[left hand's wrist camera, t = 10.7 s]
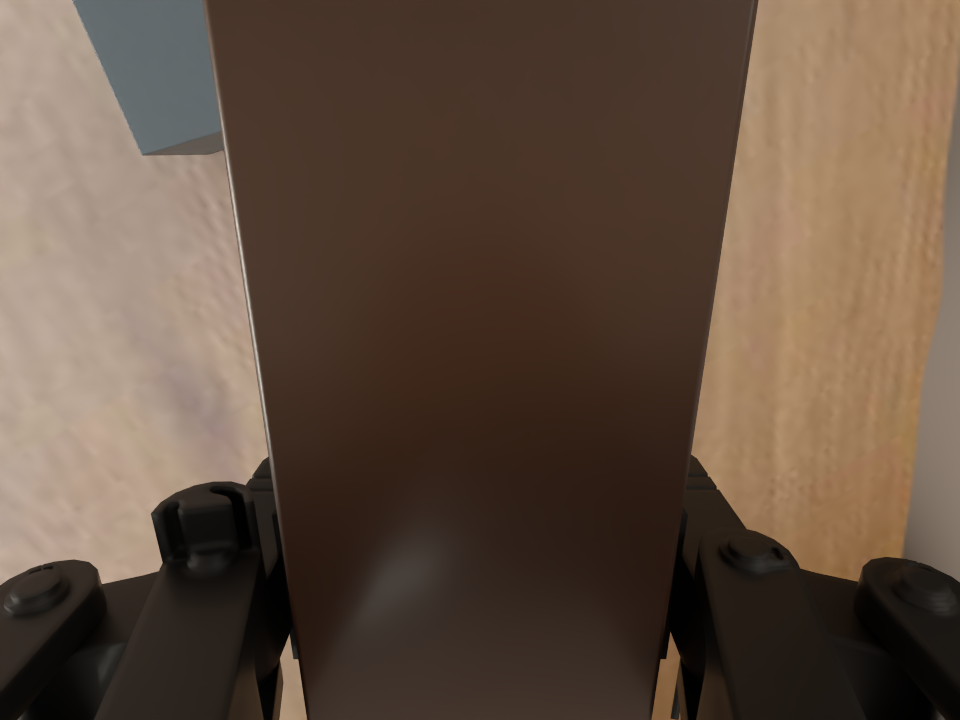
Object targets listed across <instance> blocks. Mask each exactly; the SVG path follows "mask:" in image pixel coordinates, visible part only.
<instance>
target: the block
mask: <svg viewBox="0 0 960 720" xmlns="http://www.w3.org/2000/svg"><path fill="white" fill-rule="evenodd" d="M72 1H73V3H74V6H75V8H76V10H77V12H78V15H79V17H80V19H81V21H82V23H83V26H84V28H85V30H86V32H87V35H88V37H89V39H90V41H91V43H92V46H93V48H94V50H95V52H96V55H97V57H98V59H99V61H100V64H101V66H102V68H103V70H104V72H105V75H106V77H107V79H108V81H109V84H110V86H111V88H112V90H113V92H114V95H115V97H116V99H117V101H118V104H119V106H120V108H121V110H122V113H123V115H124V117H125V119H126V121H127V124H128V126H129V128H130V130H131V133H132V135H133V137H134V139H135V141H136V144H137V146H138V148H139V150H140V153H141V154H142V155H207V154H211V153H214V152H217V151H221V150H224V147H223V140H222V133H221V126H220V119H219V112H218V106H217V99H216V92H215V85H214V78H213V71H212V65H211V58H210V51H209V44H208V37H207V30H206V24H205V17H204V10H203V3H202V0H72Z"/></svg>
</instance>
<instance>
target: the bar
mask: <svg viewBox="0 0 960 720" xmlns="http://www.w3.org/2000/svg"><path fill="white" fill-rule="evenodd" d="M202 3H203V10H204V17H205V24H206V30H207V37H208V44H209V51H210V58H211V65H212V71H213V78H214V85H215V92H216V99H217V106H218V112H219V119H220V126H221V133H222V140H223V147H224V153H225V160H226V167H227V174H228V181H229V188H230V195H231V201H232V208H233V215H234V222H235V229H236V236H237V242H238V249H239V256H240V263H241V270H242V277H243V283H244V290H245V297H246V304H247V311H248V318H249V324H250V331H251V338H252V345H253V352H254V359H255V365H256V372H257V379H258V386H259V393H260V400H261V407H262V413H263V420H264V427H265V434H266V441H267V448H268V454H269V461H270V468H271V475H272V482H273V489H274V495H275V502H276V509H277V516H278V523H279V530H280V536H281V543H282V550H283V557H284V564H285V571H286V578H287V584H288V591H289V598H290V605H291V612H292V619H293V625H294V632H295V639H296V646H297V653H298V660H299V666H300V673H301V680H302V687H303V694H304V701H305V707H306V714H307V720H651V719H652V712H653V706H654V699H655V692H656V685H657V679H658V672H659V665H660V659H661V652H662V645H663V638H664V632H665V625H666V618H667V611H668V605H669V598H670V591H671V585H672V578H673V571H674V564H675V558H676V551H677V544H678V537H679V531H680V524H681V517H682V511H683V504H684V497H685V490H686V484H687V477H688V470H689V463H690V457H691V450H692V443H693V437H694V430H695V423H696V416H697V410H698V403H699V396H700V389H701V383H702V376H703V369H704V363H705V356H706V349H707V342H708V336H709V329H710V322H711V315H712V309H713V302H714V295H715V289H716V282H717V275H718V268H719V262H720V255H721V248H722V241H723V235H724V228H725V221H726V215H727V208H728V201H729V194H730V188H731V181H732V174H733V167H734V161H735V154H736V147H737V141H738V134H739V127H740V120H741V114H742V107H743V100H744V93H745V87H746V80H747V73H748V67H749V60H750V53H751V46H752V40H753V33H754V26H755V19H756V13H757V6H758V0H202Z"/></svg>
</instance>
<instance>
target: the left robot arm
mask: <svg viewBox="0 0 960 720" xmlns="http://www.w3.org/2000/svg"><path fill="white" fill-rule="evenodd" d="M716 487H717V486H716V485H715V484H714V482H713V481H712V479H711V478H710V477H708V474H707V472H706V471H705V469H704V468H703V467H702V465H701V464H700V462H699V461H698V459H697V458H695V457H694V456H692V455H691V457H690V463H689V470H688V477H687V484H686V490H685V497H684V504H683V511H682V517H681V524H680V531H679V537H678V544H677V551H676V558H675V564H674V571H673V578H672V585H671V591H670V598H669V605H668V611H667V618H666V625H665V632H664V638H663V645H662V652H661V659H666V656H667V650H668V643H669V637H670V632H671V634H672V637H673V639H674V642H675V644H676V647H677V649H678V652H679V654H680V663H679V669H678V675H677V681H676V687H675V694H674V700H673V706H672V713H671V719H676V720H678V719H679V713H680V715H681V720H960V582H958V581H957V580H955V579H954V578H953V577H951V576H949V575H947V574H945V573H943V572H941V571H938V570H936V569H934V568H933V567H931V566H928V565H925V564H922V563H917V562H916V561H911V560H907V559H900V558H891V557H884V558H878V559H872V560H870V561H869V562H868V563H867V564H865V565H864V566H863V568H862V571H861V575H860V578H859V582H856V581H852V580H847V579H842V578H837V577H833V576H828V575H823V574H819V573H814V572H811V571H807V570H804V569H800V567H799V565H798V563H797V561H796V560H795V558H794V557H793V556H792V554H791V553H790V552H789V550H788V549H786V548H785V547H784V546H782V545H781V544H779V543H778V542H777V541H775V540H774V539H772V538H770V537H767V536H765V535H763V534H761V533H759V532H756V531H752V530H748V529H746V527H745V526H744V525H743V523H742V522H741V520H740V519H739V518H738V516H737V515H736V513H735V512H734V510H733V509H732V508H731V506H730V505H729V503H728V502H727V501H726V499H725V498H724V496H723V495H722V493H721V492H720V491H719V490H717V488H716ZM151 516H152V520H153V524H154V528H155V532H156V537H157V541H158V545H159V549H160V553H161V557H162V561H163V564H162V566H161V568H160V570H159V571H158V572H154V573H151V574H147V575H143V576H139V577H134V578H129V579H125V580H120V581H115V582H111V583H106V584H102V583H101V580H100V576H99V573H98V570H97V569H96V568H95V567H94V566H93V565H92V564H91V563H89V562H85V561H79V560H66V561H57V562H52V563H47V564H44V565H42V566H41V565H40V566H37V567H34V568H31V569H29V570H27V571H25V572H23V573H21V574H19V575H17V576H15V577H13V578H11V579H9V580H7V581H6V582H5V583H3V584H2V585H0V720H279V717H280V708H281V699H282V690H283V676H282V669H281V663H280V656H281V654H282V651H283V649H284V646H285V644H286V641H287V639H288V636H289V634H290V639H291V646H292V652H293V659H298V653H297V646H296V639H295V632H294V625H293V619H292V612H291V605H290V598H289V591H288V584H287V578H286V571H285V564H284V557H283V550H282V543H281V536H280V530H279V523H278V516H277V509H276V502H275V495H274V489H273V482H272V475H271V468H270V461H269V457H268V458H266V459H265V460H263V461H262V463H261V464H260V466H259V467H258V468H257V470H256V471H255V473H254V474H253V476H252V479H250V480H249V481H248V483H247V484H246V486H245V485H243V484H239V483H235V482H210V483H205V484H200V485H195V486H192V487H190V488H187V489H184V490H182V491H179V492H177V493H175V494H173V495H172V496H170V497H169V498H167V499H165V500H164V501H162V502H161V503H160V504H159V505H158V506H157V507H156V508H155V510H154V511H153V512H152V513H151Z"/></svg>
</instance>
